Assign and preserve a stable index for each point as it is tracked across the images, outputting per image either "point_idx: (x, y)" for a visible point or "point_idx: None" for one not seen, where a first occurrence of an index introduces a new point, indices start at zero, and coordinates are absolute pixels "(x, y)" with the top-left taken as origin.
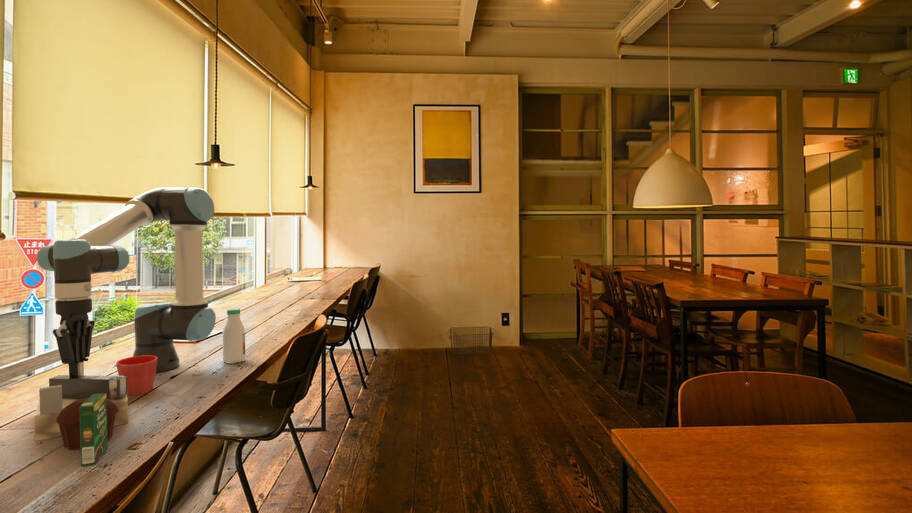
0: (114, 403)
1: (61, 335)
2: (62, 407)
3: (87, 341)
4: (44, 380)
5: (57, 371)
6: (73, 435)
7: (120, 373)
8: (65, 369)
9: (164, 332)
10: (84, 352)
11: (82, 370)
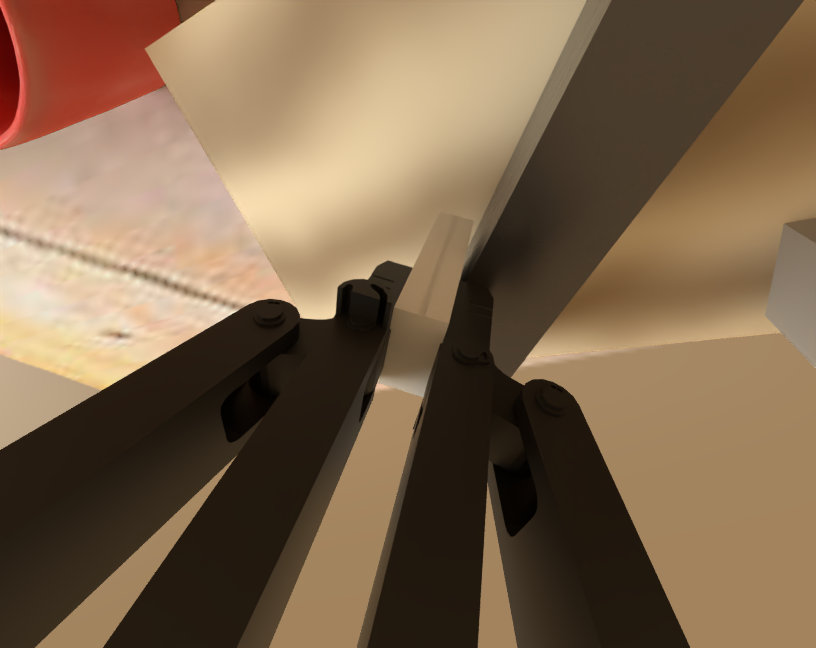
0: None
1: None
2: (730, 234)
3: (116, 472)
4: (113, 375)
5: (45, 365)
6: None
7: (90, 91)
8: (24, 353)
9: None
10: (318, 371)
11: (430, 270)
